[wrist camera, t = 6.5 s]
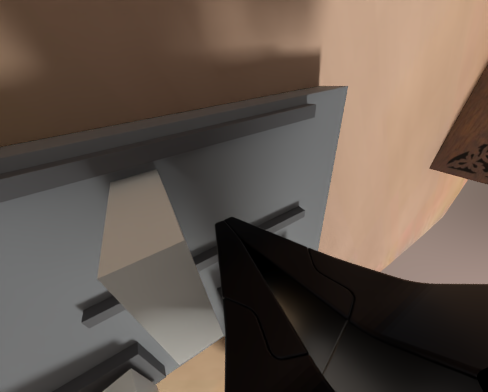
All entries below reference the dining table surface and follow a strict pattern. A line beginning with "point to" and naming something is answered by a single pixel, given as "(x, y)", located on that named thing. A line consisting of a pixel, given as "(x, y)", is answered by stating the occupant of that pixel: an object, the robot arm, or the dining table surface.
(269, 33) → the dining table surface
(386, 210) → the dining table surface
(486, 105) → the tissue box cover
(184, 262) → the grey angular block
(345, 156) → the dining table surface
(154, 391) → the white slab
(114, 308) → the panel
